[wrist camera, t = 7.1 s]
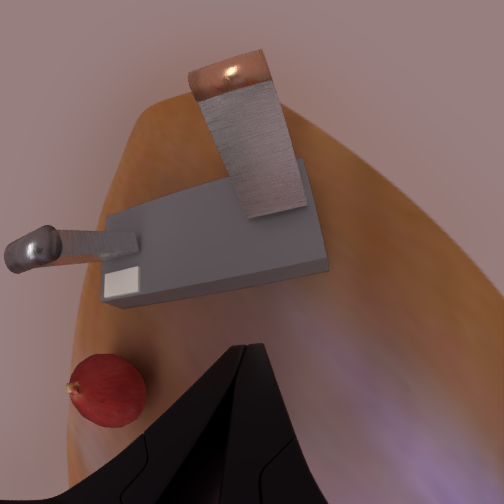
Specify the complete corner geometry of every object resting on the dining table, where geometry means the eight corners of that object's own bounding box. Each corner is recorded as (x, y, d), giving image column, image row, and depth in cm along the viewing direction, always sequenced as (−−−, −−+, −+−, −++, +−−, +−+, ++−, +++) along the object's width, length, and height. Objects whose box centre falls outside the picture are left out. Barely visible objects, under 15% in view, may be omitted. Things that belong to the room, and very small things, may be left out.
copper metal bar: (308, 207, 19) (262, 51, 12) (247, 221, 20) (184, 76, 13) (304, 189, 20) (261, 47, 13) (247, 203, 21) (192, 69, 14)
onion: (143, 434, 21) (74, 450, 13) (103, 389, 23) (35, 387, 16) (178, 388, 21) (109, 394, 14) (133, 343, 24) (63, 330, 16)
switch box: (329, 270, 21) (327, 255, 18) (122, 308, 25) (98, 301, 22) (307, 179, 24) (302, 155, 21) (125, 229, 28) (104, 215, 25)
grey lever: (139, 254, 22) (38, 262, 12) (102, 264, 23) (6, 274, 13) (134, 229, 22) (34, 224, 12) (98, 241, 23) (2, 242, 13)
